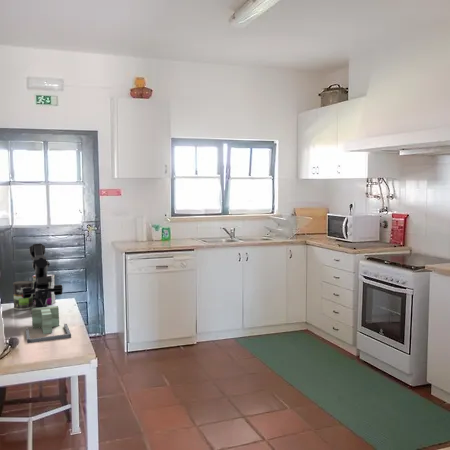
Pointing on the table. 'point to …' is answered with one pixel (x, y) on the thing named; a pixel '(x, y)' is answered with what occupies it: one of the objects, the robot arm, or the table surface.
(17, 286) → the coffee can
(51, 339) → the frame
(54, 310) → the T-block
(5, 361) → the table surface
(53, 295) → the candy bar box
